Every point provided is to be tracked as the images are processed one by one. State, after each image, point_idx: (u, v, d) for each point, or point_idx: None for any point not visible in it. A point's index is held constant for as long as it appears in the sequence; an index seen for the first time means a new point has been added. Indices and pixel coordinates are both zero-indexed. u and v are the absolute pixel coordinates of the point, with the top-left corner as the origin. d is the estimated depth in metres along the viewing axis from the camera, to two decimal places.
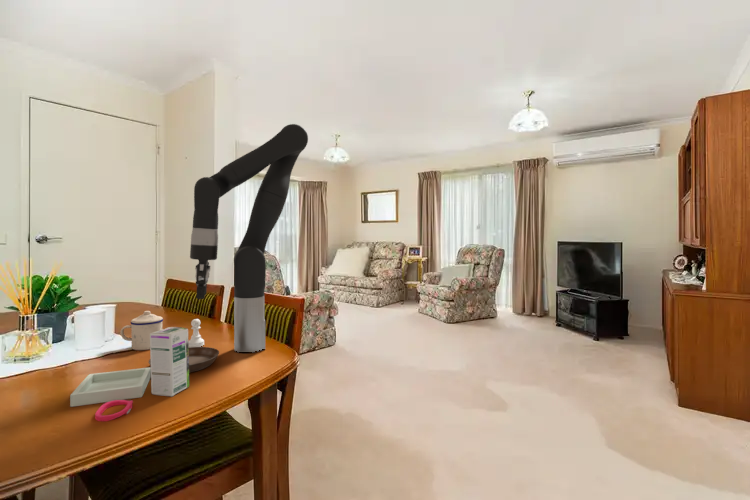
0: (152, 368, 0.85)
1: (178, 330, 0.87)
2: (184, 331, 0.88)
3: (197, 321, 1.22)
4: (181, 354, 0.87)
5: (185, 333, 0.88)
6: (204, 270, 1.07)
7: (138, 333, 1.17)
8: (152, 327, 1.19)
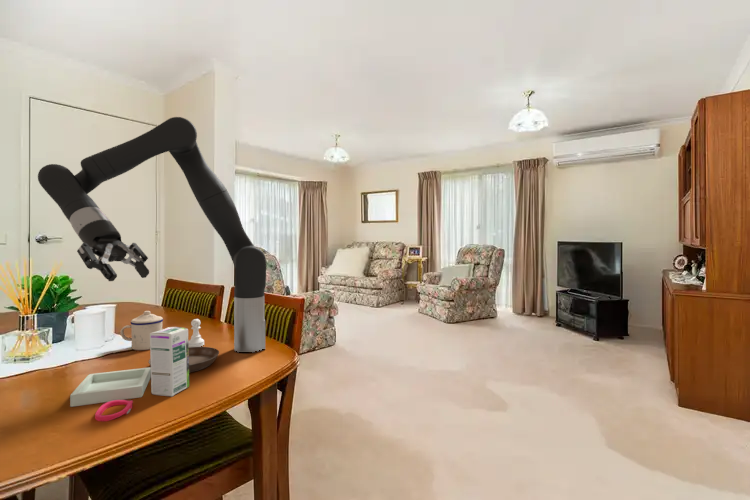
0: (152, 368, 0.85)
1: (178, 330, 0.87)
2: (184, 331, 0.88)
3: (197, 321, 1.22)
4: (181, 354, 0.87)
5: (185, 333, 0.88)
6: (84, 249, 0.84)
7: (138, 333, 1.17)
8: (152, 327, 1.19)
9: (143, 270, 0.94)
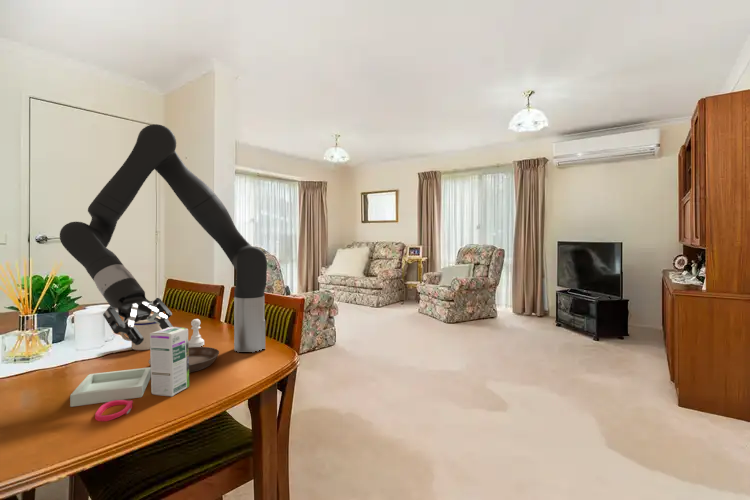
0: (152, 368, 0.85)
1: (178, 330, 0.87)
2: (184, 331, 0.88)
3: (197, 321, 1.22)
4: (181, 354, 0.87)
5: (185, 333, 0.88)
6: (110, 314, 0.83)
7: None
8: (152, 327, 1.19)
9: None
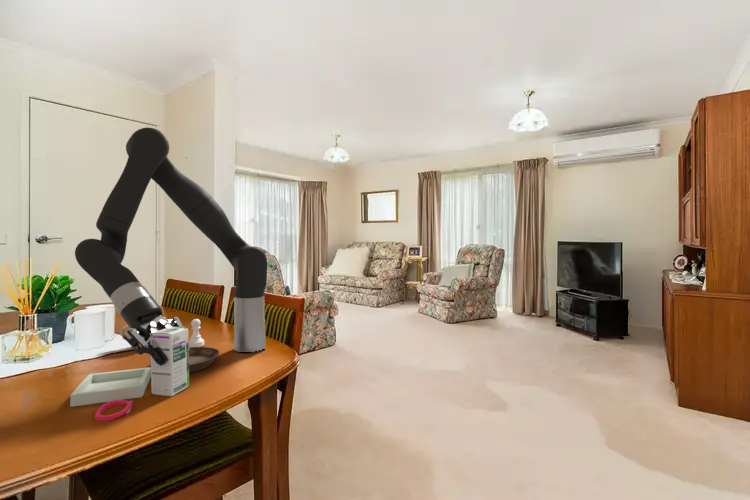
0: (152, 368, 0.85)
1: (178, 330, 0.87)
2: (184, 331, 0.88)
3: (197, 321, 1.22)
4: (181, 354, 0.87)
5: (185, 333, 0.88)
6: (132, 336, 0.82)
7: None
8: None
9: None
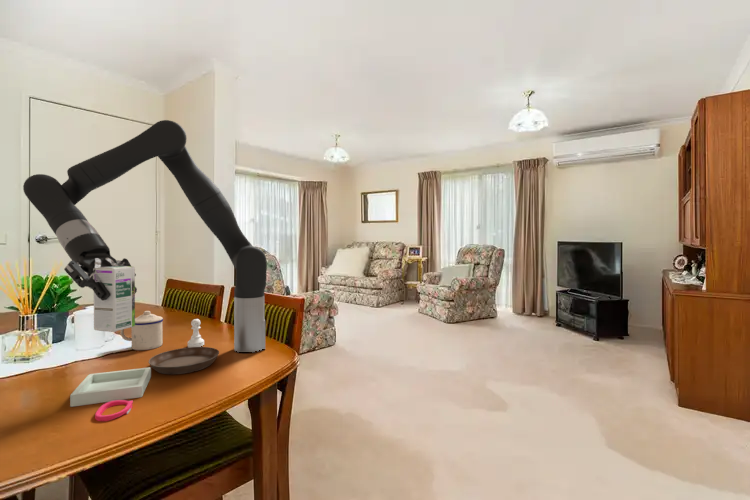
0: (95, 303, 0.84)
1: (123, 267, 0.86)
2: (130, 269, 0.87)
3: (197, 321, 1.22)
4: (126, 291, 0.86)
5: (131, 271, 0.87)
6: (73, 268, 0.81)
7: (138, 333, 1.17)
8: (152, 327, 1.19)
9: None
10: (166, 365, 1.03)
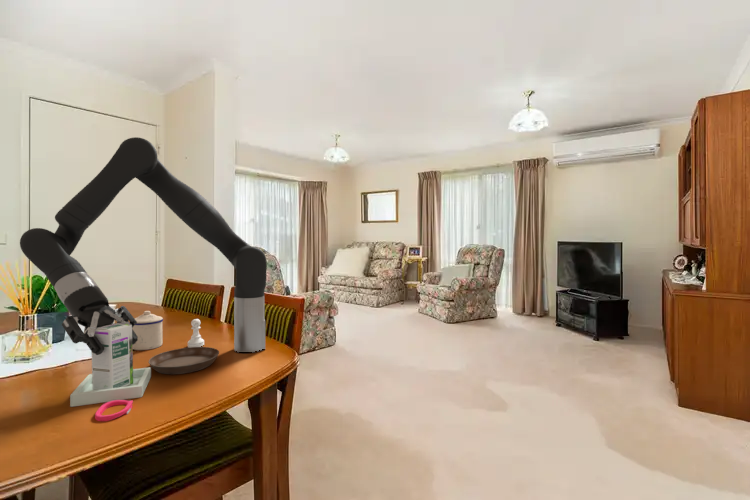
0: (93, 364, 0.85)
1: (120, 326, 0.87)
2: (127, 328, 0.87)
3: (197, 321, 1.22)
4: (123, 350, 0.86)
5: (128, 329, 0.88)
6: (69, 323, 0.81)
7: (138, 333, 1.17)
8: (152, 327, 1.19)
9: None
10: (166, 365, 1.03)
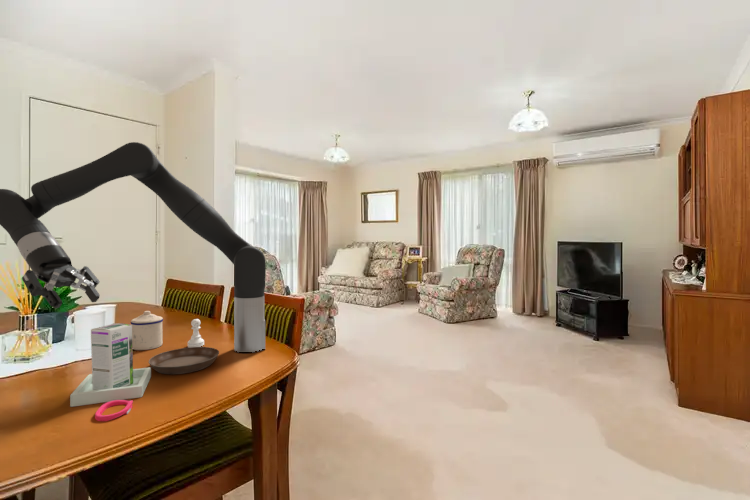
0: (93, 364, 0.85)
1: (120, 326, 0.86)
2: (127, 328, 0.87)
3: (197, 321, 1.22)
4: (123, 351, 0.86)
5: (128, 329, 0.88)
6: (28, 277, 0.84)
7: (138, 333, 1.17)
8: (152, 327, 1.19)
9: (93, 295, 0.93)
10: (166, 365, 1.03)
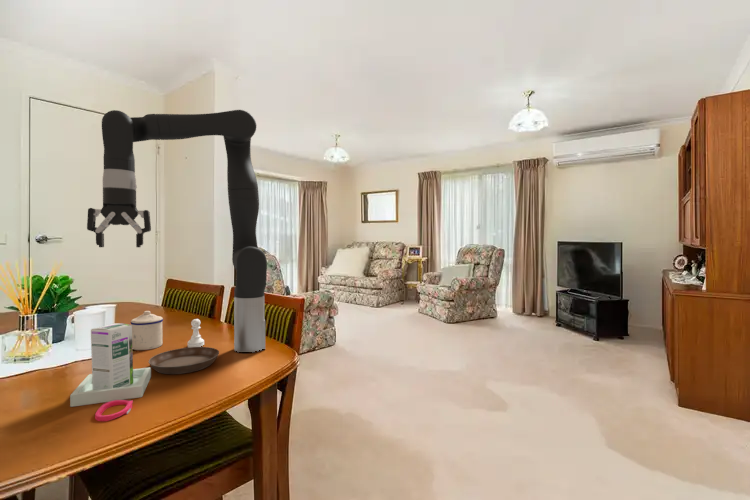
0: (93, 364, 0.85)
1: (120, 326, 0.86)
2: (127, 328, 0.87)
3: (197, 321, 1.22)
4: (123, 350, 0.86)
5: (128, 329, 0.88)
6: None
7: (138, 333, 1.17)
8: (152, 327, 1.19)
9: None
10: (166, 365, 1.03)
